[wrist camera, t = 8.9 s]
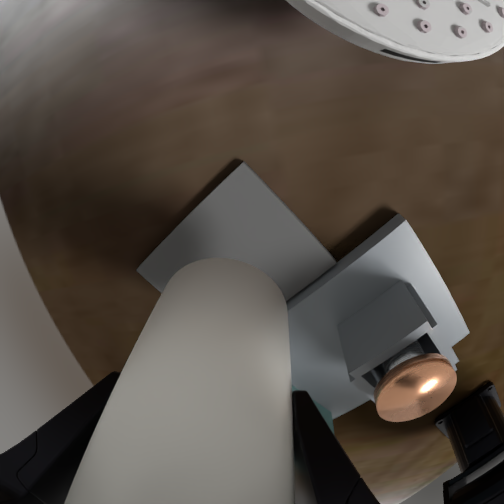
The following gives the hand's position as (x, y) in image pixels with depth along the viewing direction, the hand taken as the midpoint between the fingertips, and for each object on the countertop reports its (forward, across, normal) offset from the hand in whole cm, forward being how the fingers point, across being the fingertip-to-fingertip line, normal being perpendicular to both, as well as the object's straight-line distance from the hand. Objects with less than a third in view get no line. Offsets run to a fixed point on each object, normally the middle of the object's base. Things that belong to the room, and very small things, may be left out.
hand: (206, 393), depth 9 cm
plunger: (+7, -9, +3) cm, 12 cm away
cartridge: (+4, 0, 0) cm, 4 cm away
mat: (+8, 0, 0) cm, 8 cm away
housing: (+8, -4, +7) cm, 12 cm away
